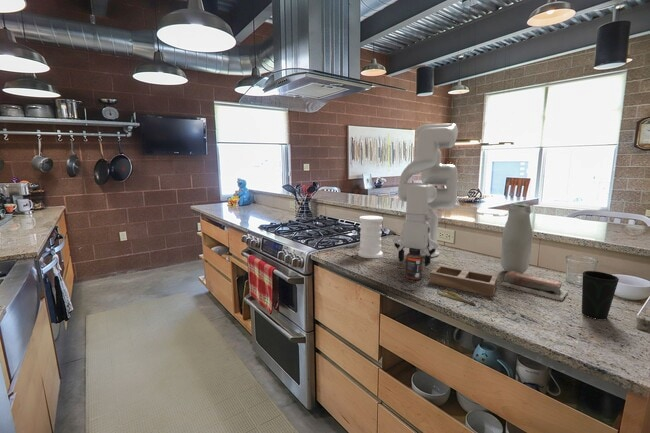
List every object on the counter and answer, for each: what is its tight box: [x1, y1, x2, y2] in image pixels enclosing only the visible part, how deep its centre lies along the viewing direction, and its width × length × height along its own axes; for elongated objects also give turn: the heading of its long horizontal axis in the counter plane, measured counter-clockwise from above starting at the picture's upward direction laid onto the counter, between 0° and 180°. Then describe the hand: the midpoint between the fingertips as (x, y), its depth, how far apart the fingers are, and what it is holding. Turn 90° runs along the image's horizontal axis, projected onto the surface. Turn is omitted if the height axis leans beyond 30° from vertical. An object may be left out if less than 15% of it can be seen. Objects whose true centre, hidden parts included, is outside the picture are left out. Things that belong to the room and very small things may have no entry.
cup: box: [581, 270, 620, 320], centre depth 90 cm, size 8×8×12 cm
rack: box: [428, 264, 498, 298], centre depth 113 cm, size 11×21×4 cm, turn 56°
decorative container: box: [357, 215, 384, 259], centre depth 148 cm, size 12×12×18 cm
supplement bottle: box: [404, 248, 423, 281], centre depth 119 cm, size 6×6×11 cm
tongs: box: [437, 289, 477, 307], centre depth 102 cm, size 4×13×2 cm, turn 38°
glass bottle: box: [500, 202, 534, 274], centre depth 123 cm, size 10×10×28 cm
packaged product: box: [500, 271, 569, 302], centre depth 109 cm, size 18×5×10 cm
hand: (413, 263), depth 119 cm, fingers open, 9 cm apart
